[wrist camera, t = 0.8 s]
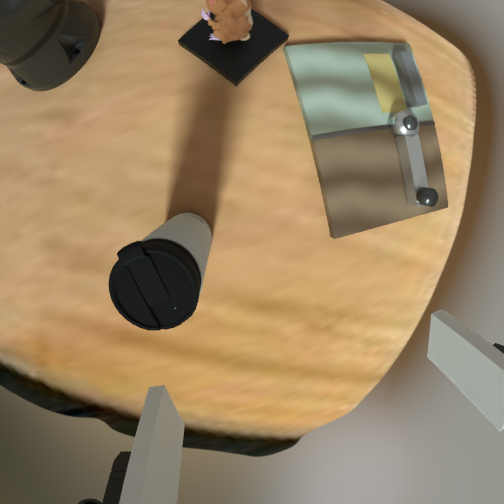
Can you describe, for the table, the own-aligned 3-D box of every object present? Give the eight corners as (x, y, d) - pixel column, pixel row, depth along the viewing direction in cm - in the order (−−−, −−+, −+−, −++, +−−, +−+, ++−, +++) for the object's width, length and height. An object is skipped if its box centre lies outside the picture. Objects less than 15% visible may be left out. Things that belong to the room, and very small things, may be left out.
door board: (283, 50, 33) (289, 38, 29) (404, 46, 33) (417, 38, 29) (330, 236, 39) (341, 242, 35) (442, 206, 39) (458, 209, 36)
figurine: (231, 1, 30) (234, -50, 18) (286, 40, 32) (309, -5, 21) (179, 45, 31) (163, -1, 20) (236, 86, 34) (241, 48, 22)
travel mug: (200, 201, 37) (171, 226, 17) (219, 250, 38) (214, 322, 19) (155, 220, 37) (87, 263, 17) (175, 267, 38) (132, 349, 19)
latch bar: (385, 113, 34) (402, 108, 30) (406, 112, 34) (424, 107, 30) (404, 205, 37) (422, 209, 33) (423, 200, 37) (442, 203, 33)
